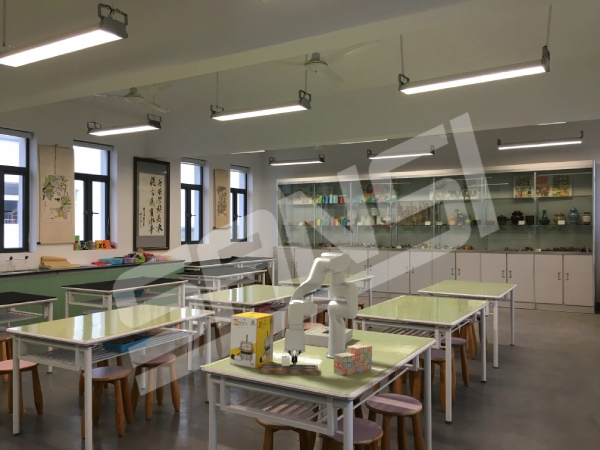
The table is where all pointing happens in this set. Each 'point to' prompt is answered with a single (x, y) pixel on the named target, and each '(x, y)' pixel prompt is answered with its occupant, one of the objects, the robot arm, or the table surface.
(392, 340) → the table surface
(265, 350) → the packaging box
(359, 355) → the stack of blocks
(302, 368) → the fader console
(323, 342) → the box
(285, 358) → the fader knob
